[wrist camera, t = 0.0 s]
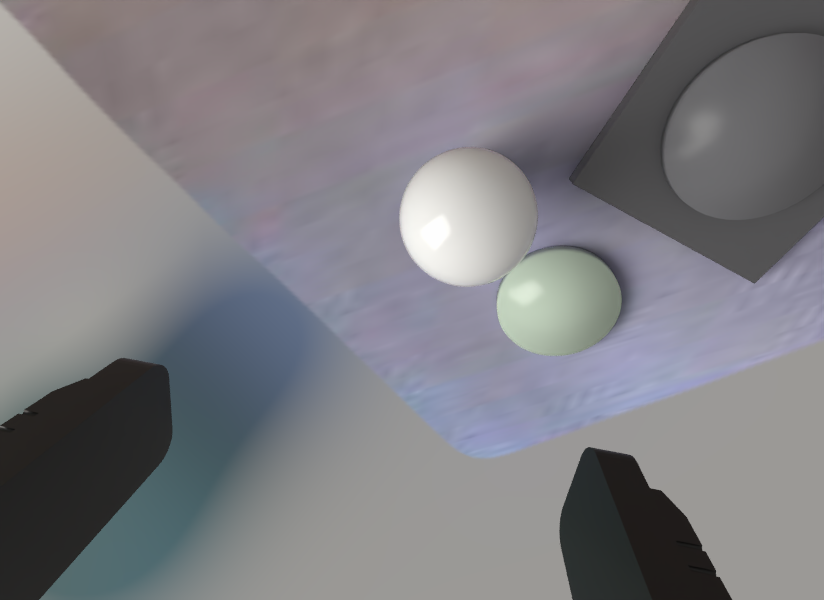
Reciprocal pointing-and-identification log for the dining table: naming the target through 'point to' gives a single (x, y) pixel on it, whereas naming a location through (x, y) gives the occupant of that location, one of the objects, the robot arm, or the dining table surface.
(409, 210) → the lightbulb
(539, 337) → the pale green dome
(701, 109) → the lamp base pad
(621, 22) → the dining table surface
